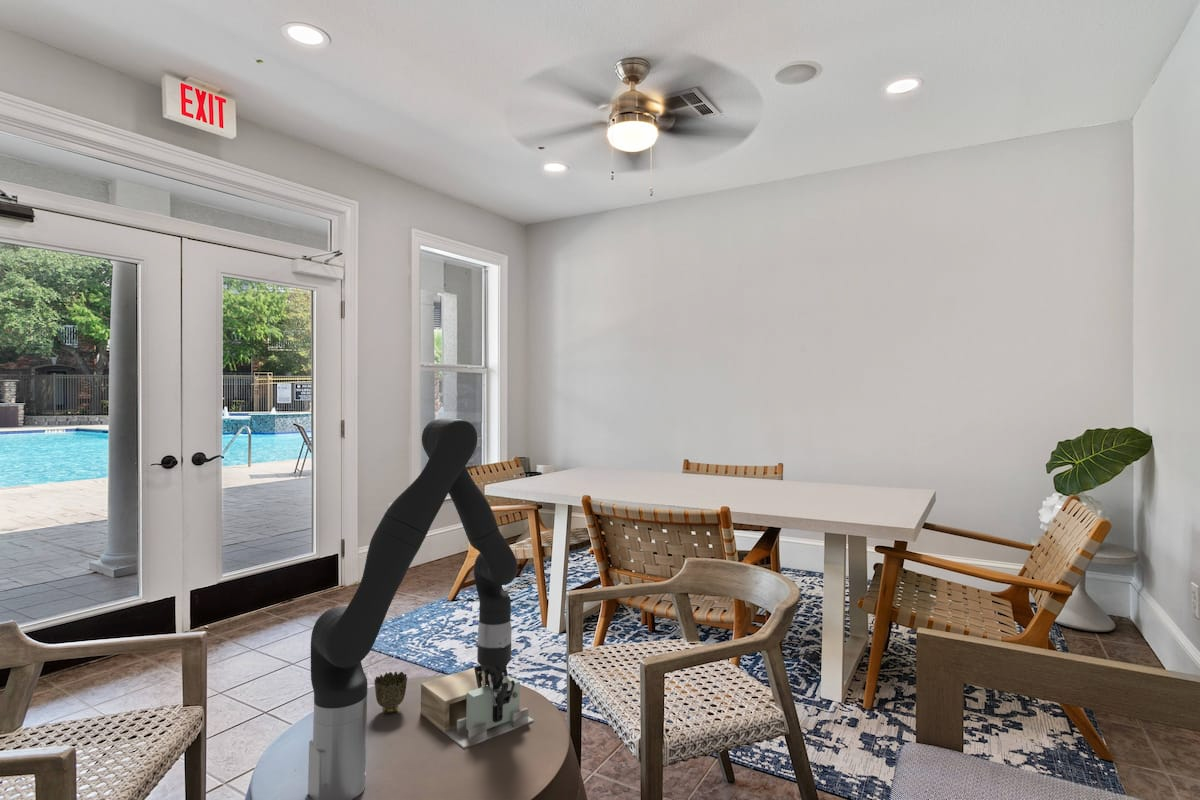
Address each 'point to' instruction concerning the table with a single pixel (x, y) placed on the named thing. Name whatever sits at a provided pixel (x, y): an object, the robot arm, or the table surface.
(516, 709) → the door
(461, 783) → the table surface
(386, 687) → the cup
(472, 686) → the cabinet
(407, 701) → the table surface
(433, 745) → the table surface
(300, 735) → the table surface
